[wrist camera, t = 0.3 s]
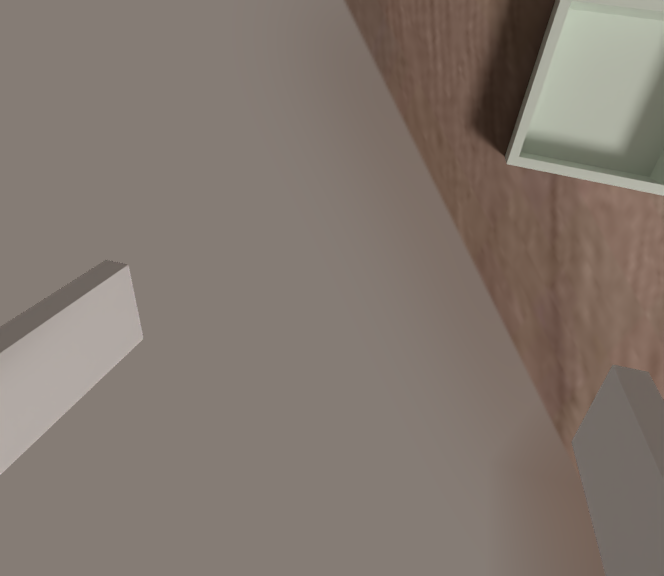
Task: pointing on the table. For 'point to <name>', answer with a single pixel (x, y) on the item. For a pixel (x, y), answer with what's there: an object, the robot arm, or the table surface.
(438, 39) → the table surface
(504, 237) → the table surface
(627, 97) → the bin
